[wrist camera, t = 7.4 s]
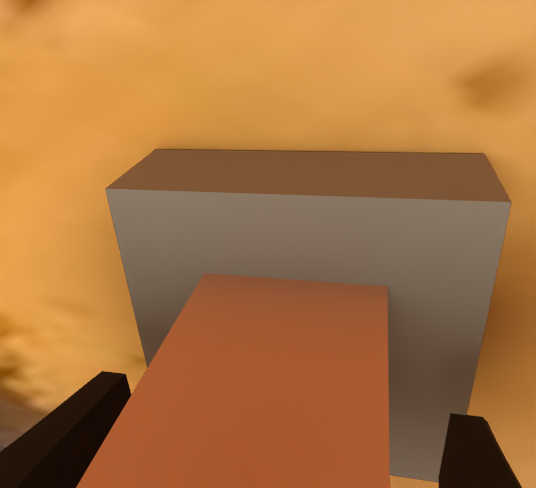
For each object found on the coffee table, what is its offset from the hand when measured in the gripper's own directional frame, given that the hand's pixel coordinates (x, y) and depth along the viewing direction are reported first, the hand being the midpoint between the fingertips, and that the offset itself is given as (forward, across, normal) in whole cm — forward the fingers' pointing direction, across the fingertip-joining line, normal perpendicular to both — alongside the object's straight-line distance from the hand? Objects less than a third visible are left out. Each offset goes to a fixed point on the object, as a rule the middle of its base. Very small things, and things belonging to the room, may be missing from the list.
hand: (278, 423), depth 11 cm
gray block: (+5, 0, 0) cm, 5 cm away
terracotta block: (+2, 0, 0) cm, 2 cm away
